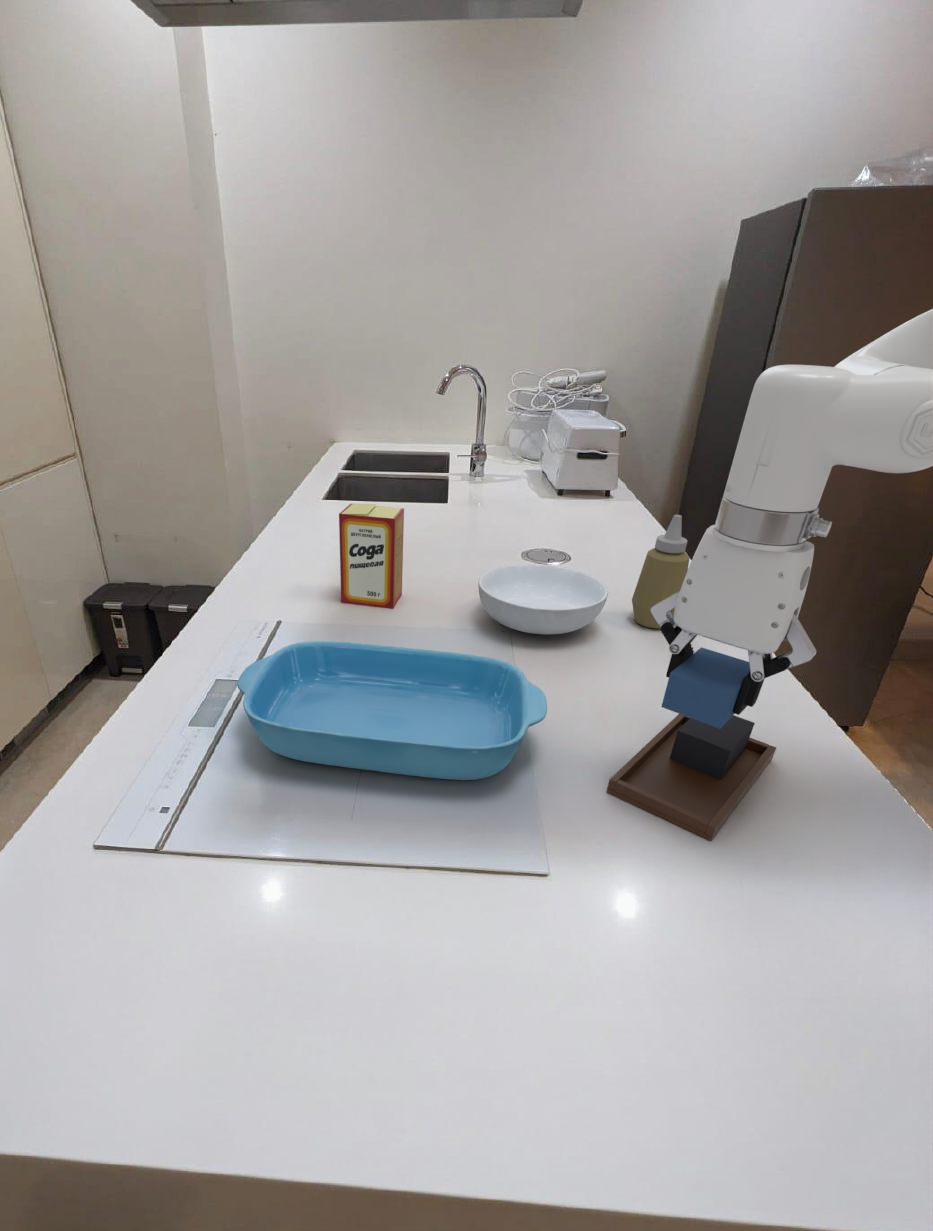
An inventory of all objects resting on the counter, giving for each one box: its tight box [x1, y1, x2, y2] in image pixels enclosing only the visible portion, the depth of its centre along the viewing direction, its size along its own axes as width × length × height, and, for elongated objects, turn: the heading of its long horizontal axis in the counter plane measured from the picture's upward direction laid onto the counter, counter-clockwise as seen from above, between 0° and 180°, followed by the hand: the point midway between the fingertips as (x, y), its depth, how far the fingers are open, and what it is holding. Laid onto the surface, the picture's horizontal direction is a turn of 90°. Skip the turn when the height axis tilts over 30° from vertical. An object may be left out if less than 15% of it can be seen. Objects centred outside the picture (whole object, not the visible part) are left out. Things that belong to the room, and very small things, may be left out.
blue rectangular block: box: [661, 647, 750, 729], centre depth 69 cm, size 6×8×4 cm
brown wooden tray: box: [606, 713, 777, 842], centre depth 77 cm, size 12×20×2 cm, turn 138°
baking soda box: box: [338, 503, 405, 609], centre depth 116 cm, size 10×6×16 cm
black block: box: [670, 714, 756, 780], centre depth 79 cm, size 6×8×4 cm
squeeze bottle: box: [631, 514, 691, 629], centre depth 109 cm, size 8×8×18 cm
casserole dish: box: [237, 640, 548, 781], centre depth 82 cm, size 37×22×7 cm, turn 81°
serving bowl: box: [477, 563, 609, 635], centre depth 111 cm, size 21×21×7 cm
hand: (707, 695), depth 69 cm, fingers closed on blue rectangular block, 6 cm apart
